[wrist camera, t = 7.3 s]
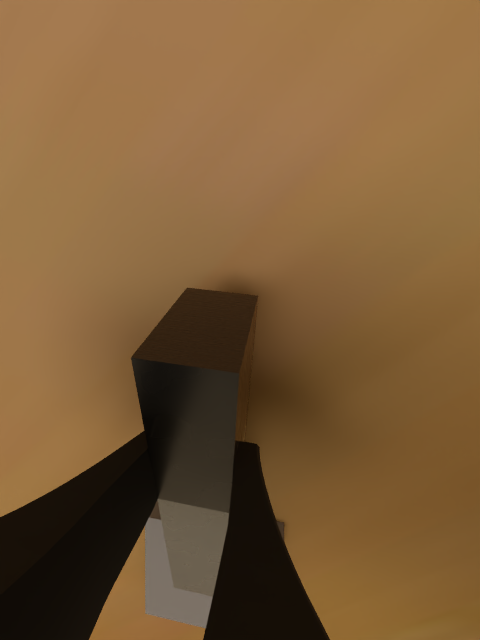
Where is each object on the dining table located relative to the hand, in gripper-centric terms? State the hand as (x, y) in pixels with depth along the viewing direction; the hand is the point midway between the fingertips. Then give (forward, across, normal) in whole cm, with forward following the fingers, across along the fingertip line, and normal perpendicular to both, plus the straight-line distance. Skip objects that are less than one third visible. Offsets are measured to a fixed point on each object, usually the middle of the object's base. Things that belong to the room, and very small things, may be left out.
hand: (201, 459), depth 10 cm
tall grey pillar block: (+3, 0, +1) cm, 4 cm away
